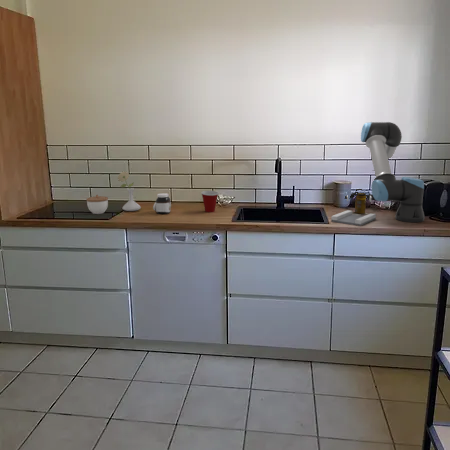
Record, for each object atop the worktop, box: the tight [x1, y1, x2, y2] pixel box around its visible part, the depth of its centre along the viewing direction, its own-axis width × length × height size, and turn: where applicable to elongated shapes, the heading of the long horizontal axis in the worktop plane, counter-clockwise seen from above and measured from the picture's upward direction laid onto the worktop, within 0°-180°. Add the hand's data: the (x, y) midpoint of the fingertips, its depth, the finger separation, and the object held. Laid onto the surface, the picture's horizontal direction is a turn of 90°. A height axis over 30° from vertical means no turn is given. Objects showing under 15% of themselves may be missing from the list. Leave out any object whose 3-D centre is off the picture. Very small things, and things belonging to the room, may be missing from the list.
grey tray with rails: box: [330, 209, 377, 227], centre depth 253 cm, size 17×20×3 cm
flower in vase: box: [117, 170, 142, 212], centre depth 282 cm, size 13×11×25 cm
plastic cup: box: [200, 190, 220, 213], centre depth 279 cm, size 11×11×12 cm
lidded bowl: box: [86, 194, 109, 215], centre depth 278 cm, size 13×13×11 cm
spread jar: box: [152, 192, 172, 215], centre depth 277 cm, size 12×11×12 cm
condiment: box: [352, 192, 369, 216], centre depth 270 cm, size 7×8×12 cm
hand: (359, 199), depth 277 cm, fingers open, 13 cm apart
